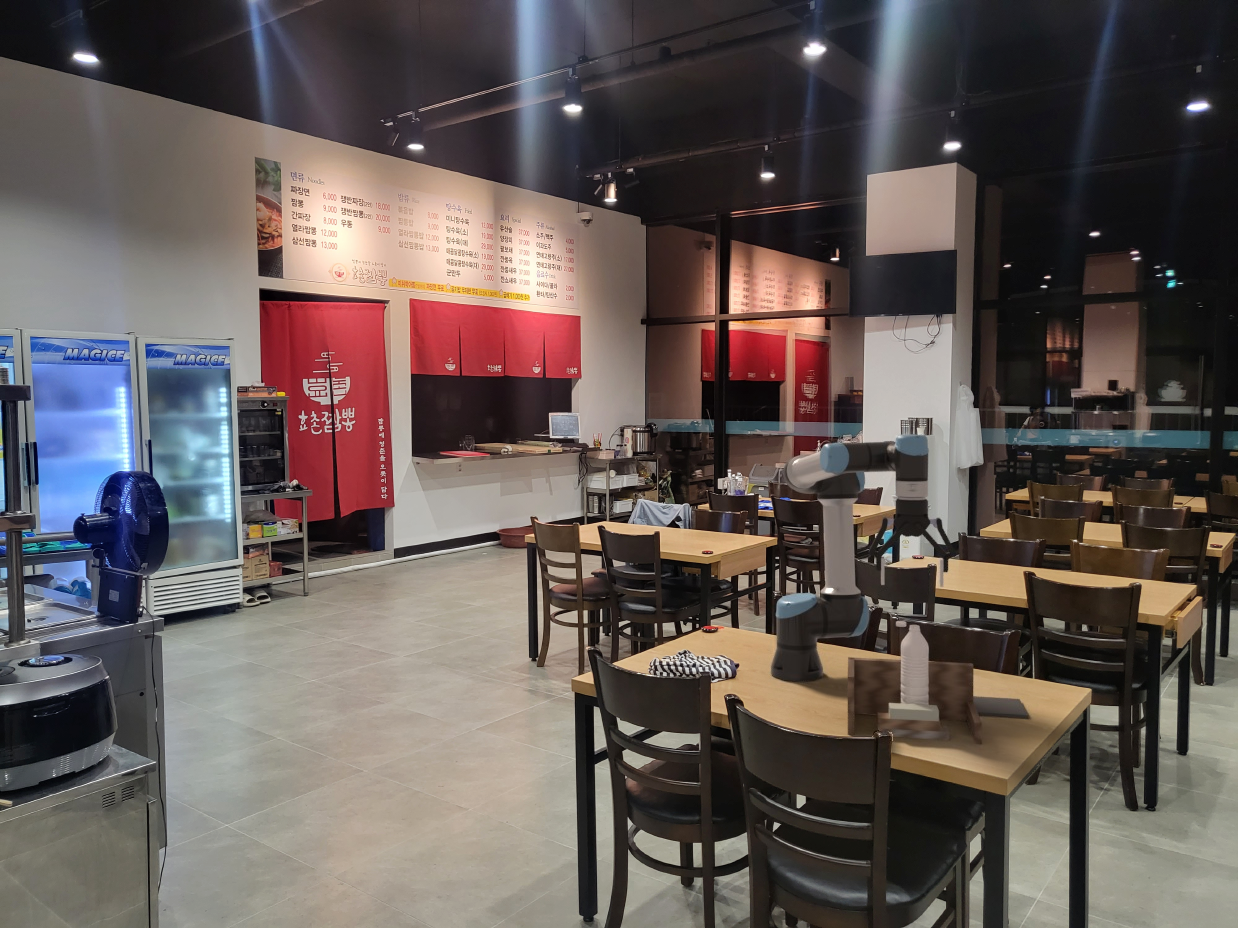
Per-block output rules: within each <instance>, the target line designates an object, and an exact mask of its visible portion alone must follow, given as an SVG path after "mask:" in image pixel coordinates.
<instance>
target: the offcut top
mask: <svg viewBox="0 0 1238 928" xmlns="http://www.w3.org/2000/svg"><path fill="white" fill-rule="evenodd" d="M889 717H890V719H905V720H923V721H939V710H938V708H937V705H920V704H901V703H889Z"/></svg>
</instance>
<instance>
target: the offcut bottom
mask: <svg viewBox="0 0 1238 928" xmlns="http://www.w3.org/2000/svg"><path fill="white" fill-rule="evenodd" d="M948 727H949V726H944V725H941V728H940V732H938V731H918V730H898V729H879V728H878V727H877V731H878V730H882V731H889V732H892V734H893V736H892V737H893V738H894V737H896V738H907V739H908V738H910V739H912V738H913V739H923V740H924V739H925V740H940V741H950V729H949V728H948Z"/></svg>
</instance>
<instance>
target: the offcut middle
mask: <svg viewBox="0 0 1238 928" xmlns="http://www.w3.org/2000/svg"><path fill="white" fill-rule="evenodd" d="M876 721H877V729H878V728H879V729H898V730H918V731H938V732H940V728H941V726H942V725H941V722H942V721H941V719H939V721H923V720H905V719H890V717H889V713H877V715H876Z"/></svg>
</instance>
